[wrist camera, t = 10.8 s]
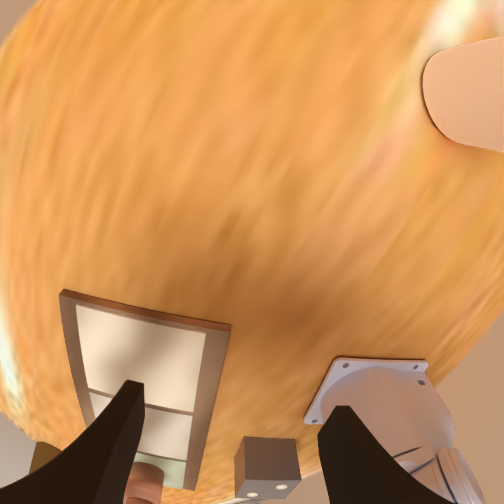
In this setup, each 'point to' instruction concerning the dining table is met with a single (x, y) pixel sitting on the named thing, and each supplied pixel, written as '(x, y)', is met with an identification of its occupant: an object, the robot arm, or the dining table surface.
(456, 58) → the can
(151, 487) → the pawn
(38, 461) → the olive brown pawn
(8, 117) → the dining table surface
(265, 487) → the die
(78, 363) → the game board
